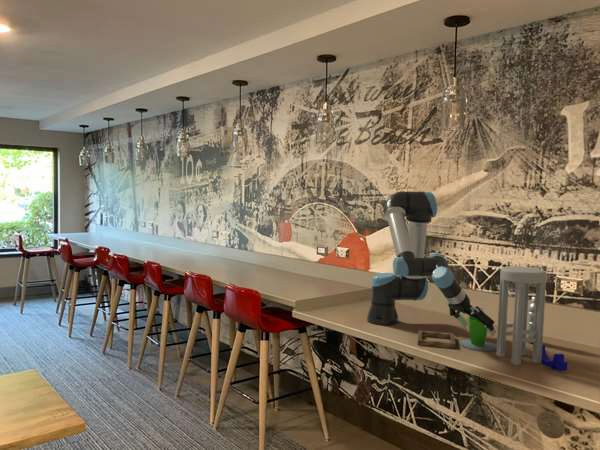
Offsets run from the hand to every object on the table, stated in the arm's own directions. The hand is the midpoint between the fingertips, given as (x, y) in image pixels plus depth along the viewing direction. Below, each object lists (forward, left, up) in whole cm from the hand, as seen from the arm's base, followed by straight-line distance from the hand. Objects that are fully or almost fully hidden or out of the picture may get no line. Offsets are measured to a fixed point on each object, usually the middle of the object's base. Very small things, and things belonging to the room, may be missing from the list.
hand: (479, 329), depth 203 cm
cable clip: (+26, +12, -7) cm, 29 cm away
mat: (0, 0, -7) cm, 7 cm away
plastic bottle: (+2, +26, -7) cm, 27 cm away
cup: (0, 0, -7) cm, 7 cm away
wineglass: (-13, +8, -7) cm, 17 cm away
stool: (+17, +5, -7) cm, 19 cm away
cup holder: (-10, -14, -7) cm, 18 cm away
